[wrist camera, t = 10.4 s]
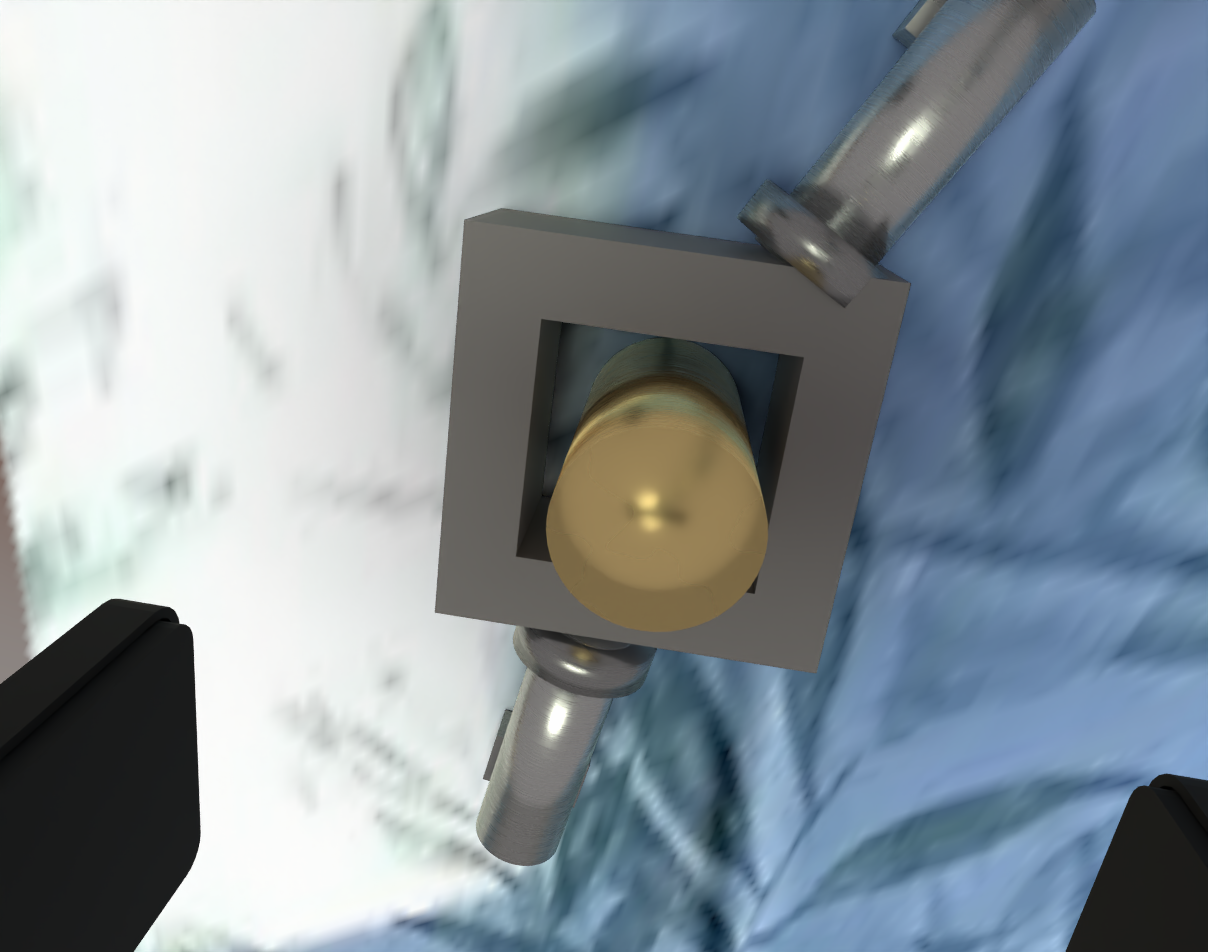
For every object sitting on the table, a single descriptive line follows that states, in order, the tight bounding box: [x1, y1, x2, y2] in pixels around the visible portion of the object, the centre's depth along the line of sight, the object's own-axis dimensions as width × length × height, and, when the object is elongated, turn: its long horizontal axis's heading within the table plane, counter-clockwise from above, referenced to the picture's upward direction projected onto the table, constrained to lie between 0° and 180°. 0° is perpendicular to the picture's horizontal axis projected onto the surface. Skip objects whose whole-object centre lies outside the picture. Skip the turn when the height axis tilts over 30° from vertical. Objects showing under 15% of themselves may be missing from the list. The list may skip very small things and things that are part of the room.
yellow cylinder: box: [546, 338, 768, 632], centre depth 20 cm, size 4×4×8 cm
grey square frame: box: [435, 208, 911, 673], centre depth 22 cm, size 9×9×4 cm
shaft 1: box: [476, 626, 657, 866], centre depth 25 cm, size 7×4×4 cm, turn 163°
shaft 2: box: [737, 0, 1096, 308], centre depth 19 cm, size 7×4×4 cm, turn 143°
